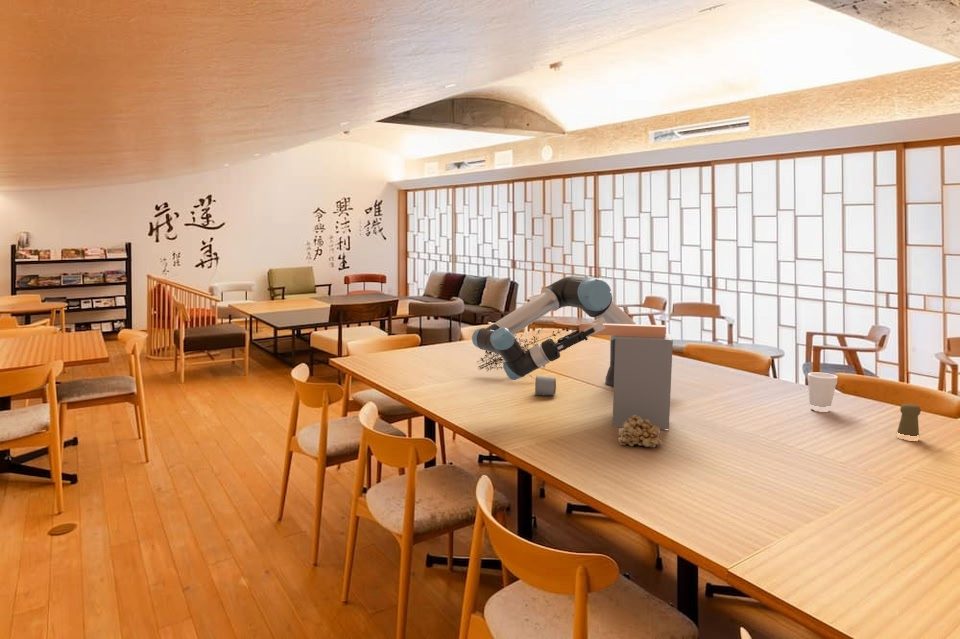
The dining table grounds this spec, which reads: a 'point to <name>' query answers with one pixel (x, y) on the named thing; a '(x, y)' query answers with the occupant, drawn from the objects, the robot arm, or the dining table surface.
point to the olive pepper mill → (909, 420)
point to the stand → (642, 379)
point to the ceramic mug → (545, 385)
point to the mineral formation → (639, 433)
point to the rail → (628, 330)
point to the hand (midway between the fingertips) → (603, 322)
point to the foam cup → (821, 388)
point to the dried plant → (502, 357)
